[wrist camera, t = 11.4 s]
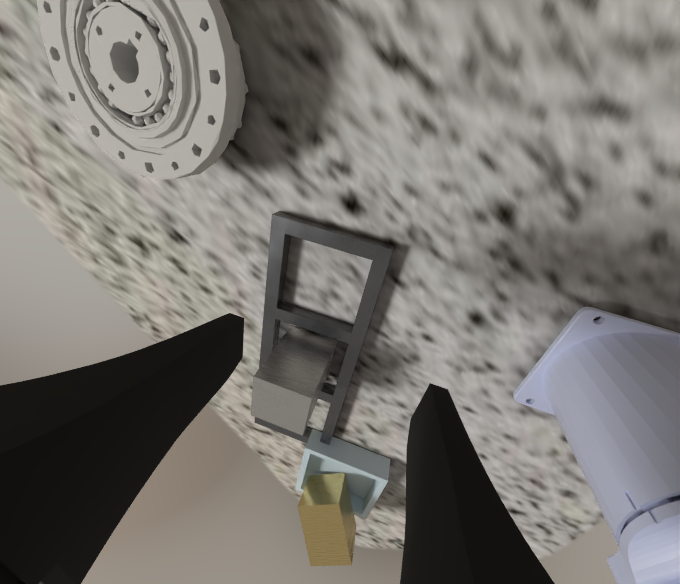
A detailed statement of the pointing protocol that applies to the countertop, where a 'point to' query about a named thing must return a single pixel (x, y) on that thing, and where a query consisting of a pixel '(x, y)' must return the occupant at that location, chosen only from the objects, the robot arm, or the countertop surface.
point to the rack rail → (312, 321)
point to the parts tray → (346, 469)
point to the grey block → (292, 379)
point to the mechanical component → (148, 79)
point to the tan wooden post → (328, 520)
